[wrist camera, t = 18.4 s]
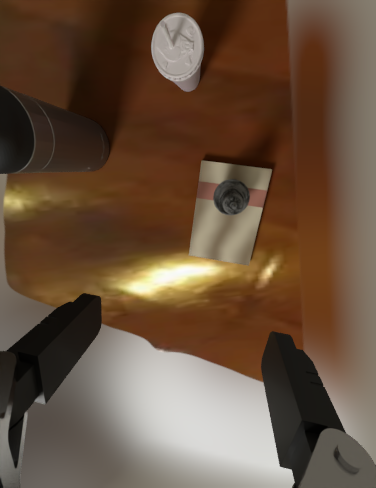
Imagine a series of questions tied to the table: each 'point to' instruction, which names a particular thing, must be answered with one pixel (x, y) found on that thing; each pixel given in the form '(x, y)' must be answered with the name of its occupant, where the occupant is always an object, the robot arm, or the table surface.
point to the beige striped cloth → (226, 226)
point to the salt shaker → (231, 197)
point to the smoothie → (178, 50)
